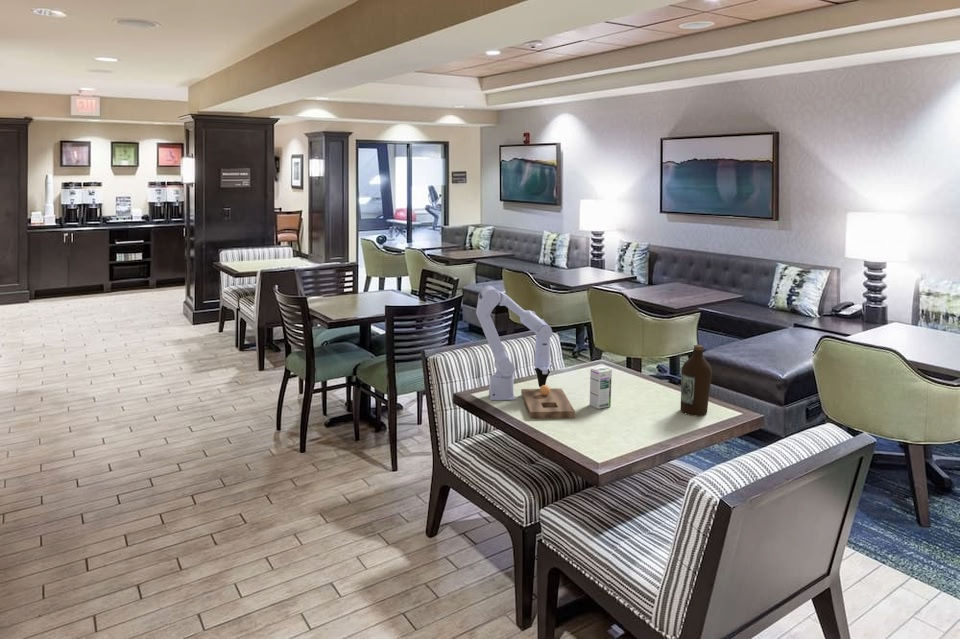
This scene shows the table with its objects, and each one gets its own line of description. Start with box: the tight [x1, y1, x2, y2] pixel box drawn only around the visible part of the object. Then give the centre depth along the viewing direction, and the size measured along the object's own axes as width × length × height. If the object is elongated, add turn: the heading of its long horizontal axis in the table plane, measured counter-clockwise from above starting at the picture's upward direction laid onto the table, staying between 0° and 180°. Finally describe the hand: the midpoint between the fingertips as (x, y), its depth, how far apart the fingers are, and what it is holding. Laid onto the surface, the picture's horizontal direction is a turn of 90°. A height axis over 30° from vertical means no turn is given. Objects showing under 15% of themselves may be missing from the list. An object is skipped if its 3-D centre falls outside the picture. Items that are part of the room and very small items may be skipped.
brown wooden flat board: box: [520, 387, 576, 419], centre depth 253 cm, size 16×26×2 cm, turn 4°
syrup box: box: [589, 366, 613, 410], centre depth 252 cm, size 6×6×14 cm
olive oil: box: [679, 344, 713, 416], centre depth 245 cm, size 11×11×25 cm
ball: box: [539, 384, 551, 396], centre depth 257 cm, size 4×4×4 cm
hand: (541, 386), depth 265 cm, fingers closed
